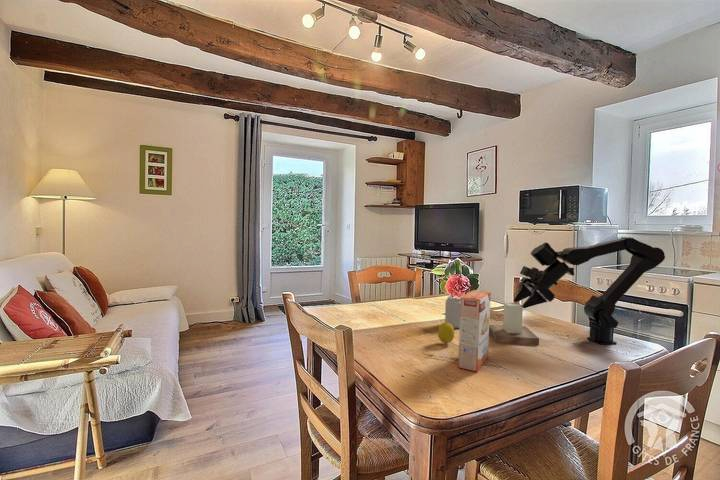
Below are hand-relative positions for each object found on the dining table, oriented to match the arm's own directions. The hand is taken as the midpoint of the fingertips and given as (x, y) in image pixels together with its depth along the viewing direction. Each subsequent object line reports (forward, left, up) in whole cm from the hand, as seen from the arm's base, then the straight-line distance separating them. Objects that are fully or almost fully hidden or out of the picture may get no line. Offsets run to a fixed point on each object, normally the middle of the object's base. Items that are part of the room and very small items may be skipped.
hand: (518, 304), depth 128 cm
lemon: (+29, +5, -13) cm, 32 cm away
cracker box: (+26, +21, -13) cm, 35 cm away
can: (+18, -15, -13) cm, 27 cm away
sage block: (+2, 0, -10) cm, 10 cm away
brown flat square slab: (+2, 0, -13) cm, 13 cm away
